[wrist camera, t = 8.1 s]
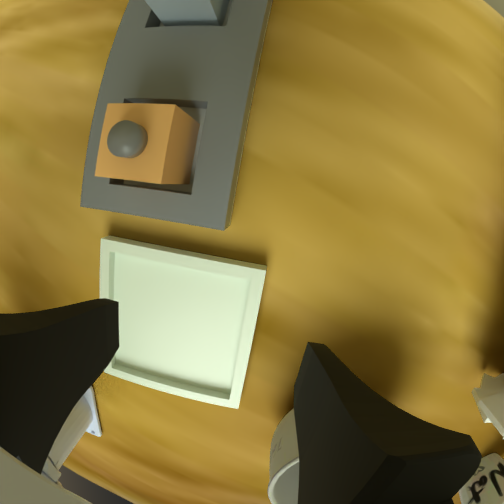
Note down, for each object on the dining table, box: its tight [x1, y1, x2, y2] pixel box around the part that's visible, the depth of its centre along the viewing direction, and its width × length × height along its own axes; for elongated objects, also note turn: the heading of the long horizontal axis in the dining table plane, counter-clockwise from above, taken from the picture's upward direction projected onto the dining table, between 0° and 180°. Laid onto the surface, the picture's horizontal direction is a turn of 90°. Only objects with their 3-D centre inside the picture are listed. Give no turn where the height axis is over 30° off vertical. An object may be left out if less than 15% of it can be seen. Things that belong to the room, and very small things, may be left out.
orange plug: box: [95, 103, 200, 184], centre depth 15 cm, size 4×4×6 cm
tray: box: [100, 235, 267, 409], centre depth 21 cm, size 12×12×1 cm
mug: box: [459, 453, 504, 504], centre depth 20 cm, size 10×15×10 cm
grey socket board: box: [80, 0, 273, 231], centre depth 16 cm, size 10×20×2 cm, turn 170°
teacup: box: [268, 408, 299, 504], centre depth 19 cm, size 14×11×8 cm
